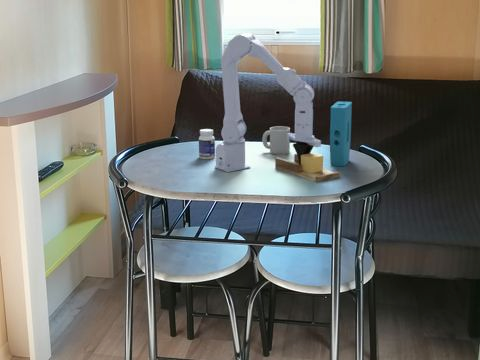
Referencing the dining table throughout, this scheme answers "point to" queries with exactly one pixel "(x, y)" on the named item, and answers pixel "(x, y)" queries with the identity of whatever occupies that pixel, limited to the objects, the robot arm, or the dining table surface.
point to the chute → (297, 170)
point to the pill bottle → (206, 144)
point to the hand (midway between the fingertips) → (303, 164)
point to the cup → (277, 140)
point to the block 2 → (340, 133)
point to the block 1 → (312, 162)
